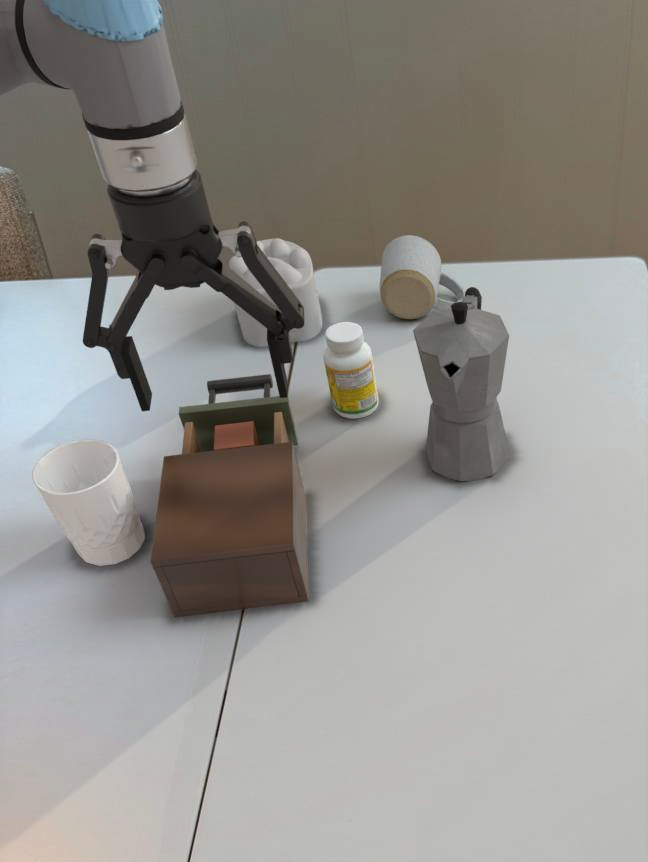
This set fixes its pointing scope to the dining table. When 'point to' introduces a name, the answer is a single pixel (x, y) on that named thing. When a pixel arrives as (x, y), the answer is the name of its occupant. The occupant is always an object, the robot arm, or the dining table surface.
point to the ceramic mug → (414, 278)
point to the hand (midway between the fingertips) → (215, 396)
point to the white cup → (91, 500)
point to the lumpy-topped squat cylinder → (300, 280)
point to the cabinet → (231, 530)
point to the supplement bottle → (350, 371)
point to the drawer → (238, 414)
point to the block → (235, 436)
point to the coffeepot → (464, 388)
